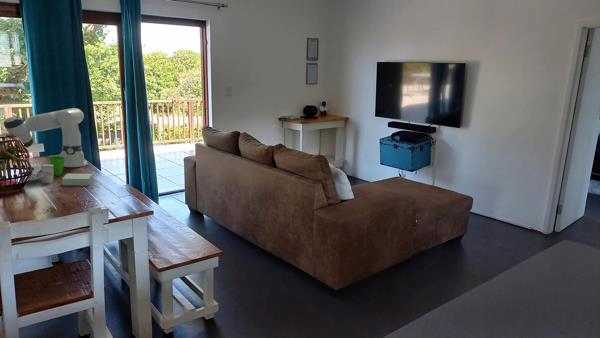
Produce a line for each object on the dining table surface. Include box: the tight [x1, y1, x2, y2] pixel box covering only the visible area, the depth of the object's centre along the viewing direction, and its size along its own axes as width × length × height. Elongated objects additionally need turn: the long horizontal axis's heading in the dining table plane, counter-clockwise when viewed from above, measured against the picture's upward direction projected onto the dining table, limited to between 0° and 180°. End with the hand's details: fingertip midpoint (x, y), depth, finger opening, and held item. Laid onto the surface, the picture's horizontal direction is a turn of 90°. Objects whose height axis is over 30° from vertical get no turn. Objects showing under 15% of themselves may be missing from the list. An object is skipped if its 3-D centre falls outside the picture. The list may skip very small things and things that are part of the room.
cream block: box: [40, 164, 55, 184], centre depth 253 cm, size 5×5×10 cm
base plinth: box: [61, 173, 94, 187], centre depth 258 cm, size 13×14×4 cm
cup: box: [48, 155, 65, 177], centre depth 271 cm, size 9×9×11 cm
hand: (49, 172), depth 253 cm, fingers closed on cream block, 5 cm apart
